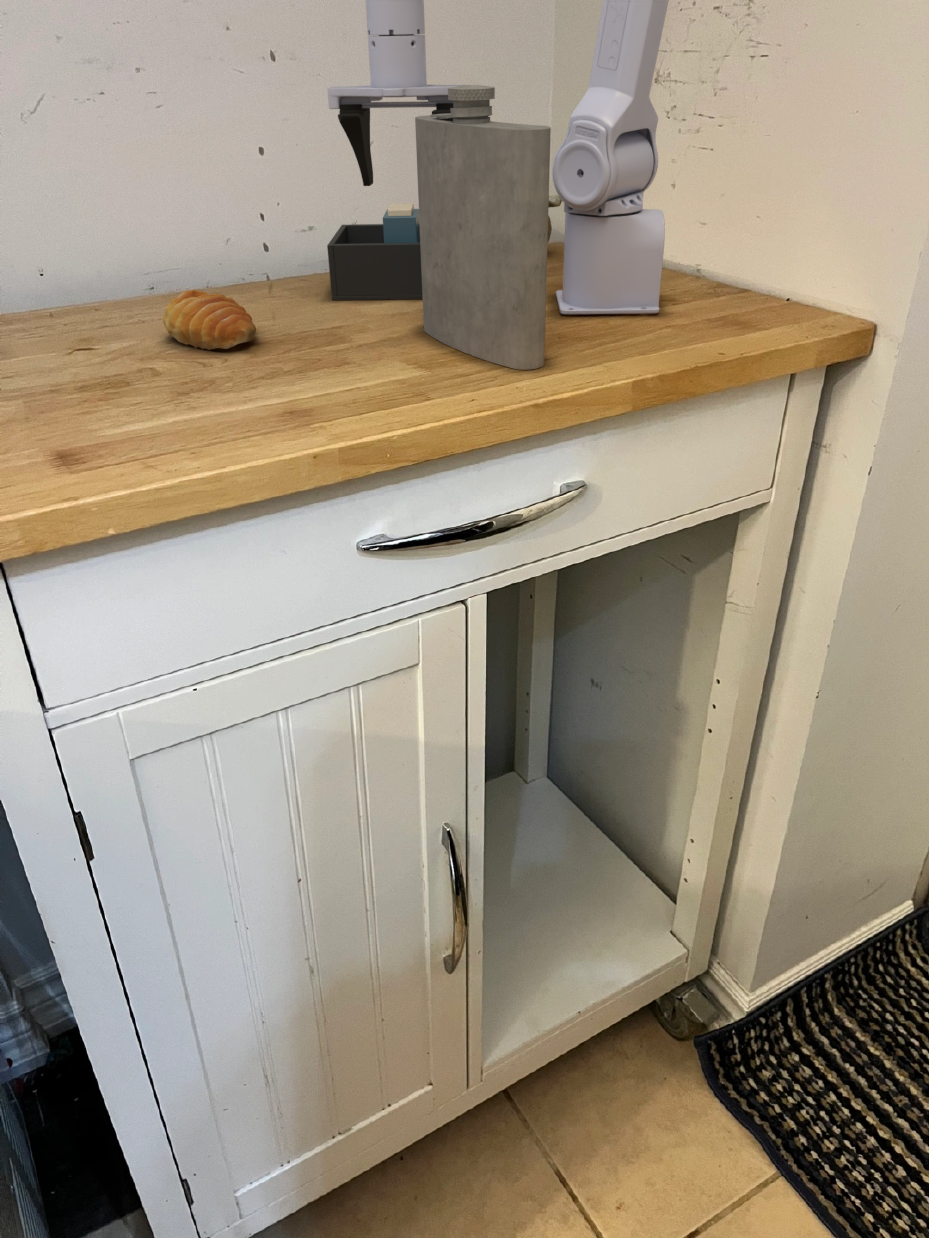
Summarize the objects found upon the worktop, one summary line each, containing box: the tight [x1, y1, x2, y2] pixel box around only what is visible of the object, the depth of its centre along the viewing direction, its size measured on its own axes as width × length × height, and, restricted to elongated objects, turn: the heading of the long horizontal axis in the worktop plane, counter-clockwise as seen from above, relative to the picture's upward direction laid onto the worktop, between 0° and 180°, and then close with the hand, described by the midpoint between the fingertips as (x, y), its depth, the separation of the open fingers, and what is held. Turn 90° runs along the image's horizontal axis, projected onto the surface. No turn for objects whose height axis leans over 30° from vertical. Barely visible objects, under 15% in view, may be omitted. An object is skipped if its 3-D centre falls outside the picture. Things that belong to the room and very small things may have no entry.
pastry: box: [162, 289, 257, 351], centre depth 84 cm, size 9×7×4 cm
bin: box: [326, 223, 423, 301], centre depth 100 cm, size 14×11×5 cm
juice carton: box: [382, 203, 420, 243], centre depth 99 cm, size 3×5×8 cm
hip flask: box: [414, 84, 552, 371], centre depth 77 cm, size 16×4×20 cm, turn 34°
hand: (403, 185), depth 101 cm, fingers open, 7 cm apart
